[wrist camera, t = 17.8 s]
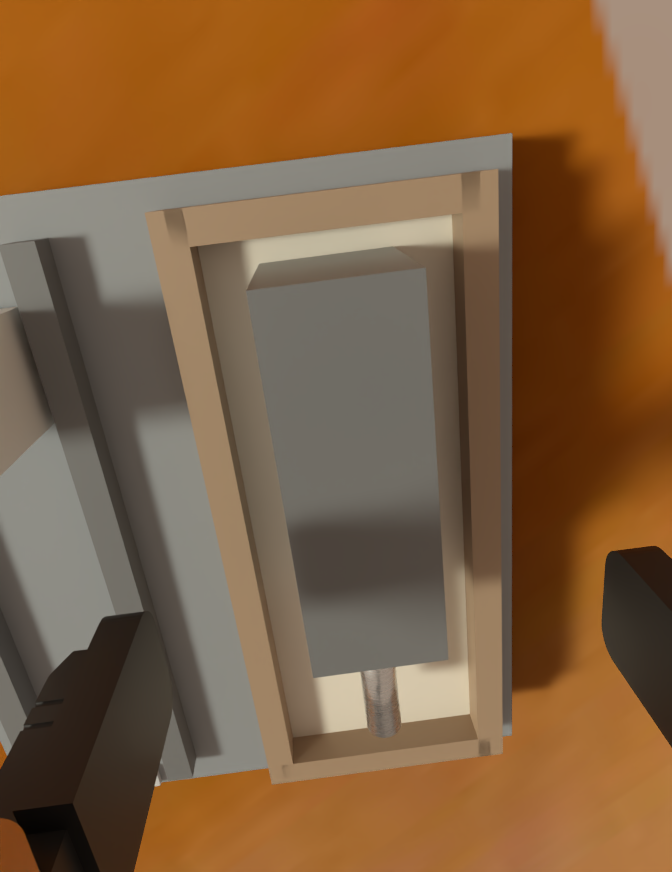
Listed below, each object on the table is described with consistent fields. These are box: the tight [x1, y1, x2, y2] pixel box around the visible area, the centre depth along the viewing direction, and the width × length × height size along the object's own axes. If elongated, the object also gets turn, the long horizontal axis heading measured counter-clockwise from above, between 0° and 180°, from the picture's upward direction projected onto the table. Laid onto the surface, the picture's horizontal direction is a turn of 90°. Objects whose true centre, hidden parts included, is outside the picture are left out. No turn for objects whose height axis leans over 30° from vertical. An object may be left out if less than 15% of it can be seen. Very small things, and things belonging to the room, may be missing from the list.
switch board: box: [0, 133, 512, 786], centre depth 18 cm, size 19×17×3 cm
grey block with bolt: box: [246, 246, 448, 738], centre depth 15 cm, size 13×3×4 cm, turn 7°
